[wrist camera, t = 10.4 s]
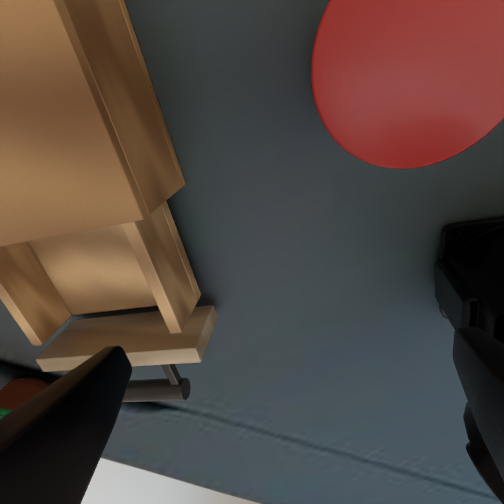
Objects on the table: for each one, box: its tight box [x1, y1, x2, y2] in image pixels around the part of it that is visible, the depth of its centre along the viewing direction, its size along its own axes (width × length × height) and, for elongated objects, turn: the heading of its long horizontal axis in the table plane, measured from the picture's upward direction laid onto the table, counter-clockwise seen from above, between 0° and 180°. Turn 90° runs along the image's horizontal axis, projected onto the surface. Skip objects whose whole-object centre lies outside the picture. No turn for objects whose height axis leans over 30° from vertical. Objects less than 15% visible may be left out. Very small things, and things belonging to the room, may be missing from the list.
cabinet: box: [0, 0, 185, 247], centre depth 16 cm, size 13×13×6 cm
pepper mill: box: [311, 0, 504, 169], centre depth 11 cm, size 5×5×10 cm
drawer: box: [0, 201, 218, 402], centre depth 21 cm, size 17×12×4 cm
